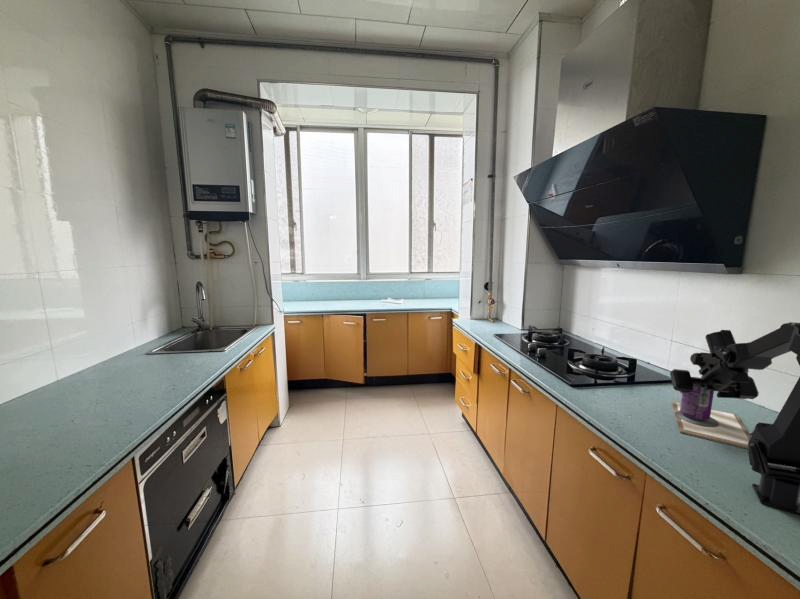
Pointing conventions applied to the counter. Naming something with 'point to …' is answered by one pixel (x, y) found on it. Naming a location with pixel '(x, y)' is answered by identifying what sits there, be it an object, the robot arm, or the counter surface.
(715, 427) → the wooden tray
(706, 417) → the beverage can
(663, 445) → the counter surface
